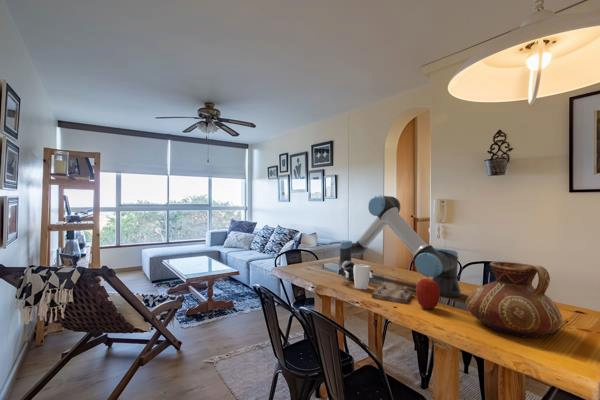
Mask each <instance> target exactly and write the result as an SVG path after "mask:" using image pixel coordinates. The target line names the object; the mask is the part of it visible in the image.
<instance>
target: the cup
mask: <svg viewBox="0 0 600 400" xmlns="http://www.w3.org/2000/svg"><path fill="white" fill-rule="evenodd" d="M354 264H355V265H354V269H353V273H354V275H353V280H354V288H355V289H357V290H362V289H364V290H367V289H368V288H369V280H370V277H369V276H370V270H371V266H370V265H369V264H363V263H362V264H360V263H354Z"/></svg>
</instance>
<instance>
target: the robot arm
mask: <svg viewBox="0 0 600 400" xmlns="http://www.w3.org/2000/svg"><path fill="white" fill-rule="evenodd" d="M367 209H368V212H369V213H370V214H371V215H372V216H374V217H376V218H375V219H374V221H372V223H371V224H370V225H369V227H368V228H366V230H365V231H364V233H362V235H361V236H360V237H359V239H358V240H357V241H356V242H353V241H352V240H348V239H345V240H341V241H340V245H339V249H340V250H339V260H338V261H337V262H338V263H337V265H338V267H339V269H338V275H339V276H340V275H341V277H345V278H346V279H349V276H354V273H353V269H354V265H355V264H356V263H354V262H353V261H352V259H353V258H352V257H353V256H354V255H362V254H363V255H364V254H366V253H367V252H368V249H369V246H370V245H371V243H373V241H374V240H375V239H376V238H377V237H378V236H379V234H380V233H381V232H382V231H383V230H384V229H385V228H386V226H388V227H389V228H390V229H391V230H392V232H393V233H394V234H395V235H396V236H397V238H398V239H399V240H400V241H401V242H402V244H404V245H405V247H406V248H407V250H409V252H410V253H411V254H412V259H413V261H414V263H415V265H414V266H415V269H416V270H417V272H418V273H419V274H421V275H422V276H423V277H427V278H431V280H433V281H435V282H436V283H437V284H438V285H439V289H440V296H441V297H448V298H449V297H452V298H453V297H454V298H457V297H460V296H461V293H462V291H461V287H460V285H459V282H458V265H459V263H458V262H459V261H458V260H459V256H458V255H459V254H458V253H459V252H458V251H457V250H453V249H446V248H439V247H438V248H437V247H434V246H433V245H432V244H427V243H426V242H425V241H424V240H423V239H422V238H421V236H420V235H419V234H418V233H417V232H416V231H415V230H414V229H413V228H412V227H411V226H410V224H409V223H408V222H407V221H406V220H405V219H404V218H403V217H402V216H401V214H400V211H401V203H400V200H399V199H397V198H396V197H394V196H388V195H381V194H380V195H373V196H372V197H371V198H370V200H369V202H368V206H367ZM373 275H374V270H371V269H370V276H369V279H370V278H371V279H373Z"/></svg>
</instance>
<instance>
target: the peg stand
mask: <svg viewBox="0 0 600 400" xmlns="http://www.w3.org/2000/svg"><path fill="white" fill-rule="evenodd" d="M412 296H413V291H412V290H411V291H410V290H408V286H403V289H397V288H391V287H387V284H386V283H382V286H379V287H377V289H376V290H375V291H373V292H372V293H371V299H378V300H383V301H388V302H394V303H400V304H405V305H407V304H408V302H409V301H410V299H411V298H412Z"/></svg>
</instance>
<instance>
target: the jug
mask: <svg viewBox="0 0 600 400" xmlns="http://www.w3.org/2000/svg"><path fill="white" fill-rule="evenodd" d="M489 266H490V268H491V270H492V273H493V274H494V276H495V280H494V281H493V282H490V283H489V282H488V283H486V284H483V285H481V286H478V287H477V288H475V289H474V290H472V291H471V292H470V293H469V295H468V296H467V297H466V299H465V306H466V308H467V310H468V312H470V313H471V315H472V316H473V317H475V318H476V319H477V320H479V321H480V322H482V323H483V324H484V325H486V326H488V328H491V329H493V330H495V329H496V330H495V331H498V332H501V333H504V334H508V335H511V334H512V336H516V335H518V337H522V336H525V337H524V338H538V337H542V336H544V335H545V336H546V335H548V334H551V333H553V332H555V331H556V330H557V329H558V328H559V327H560V326H561V324H562V321H563V318H562V313H561V312H560V309H559V307H558V306H557V304H556V303H555V302H554V301H553V299H552V298H551V297H549V296H548V295H546V294H545V293H546V292H547V289H548V288H549V285H550V281H551V276H550V273H549V271H548V270H547V268H545V267H544V266H542V265H533V264H527V263H519V262H512V261H491V262H490V263H489ZM536 275H537V277H538V282H537V286H536V288H535V287H534V286H533V281H534V279H535V278H536Z"/></svg>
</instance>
